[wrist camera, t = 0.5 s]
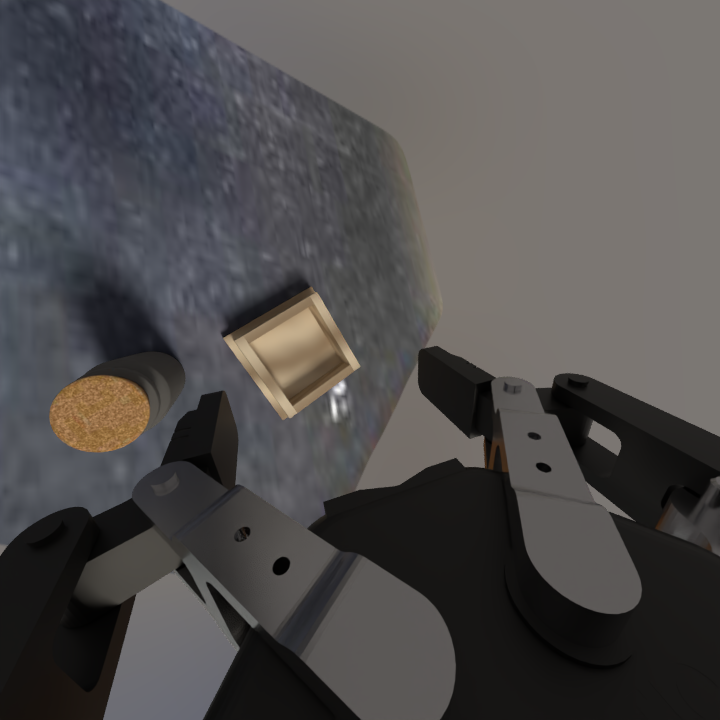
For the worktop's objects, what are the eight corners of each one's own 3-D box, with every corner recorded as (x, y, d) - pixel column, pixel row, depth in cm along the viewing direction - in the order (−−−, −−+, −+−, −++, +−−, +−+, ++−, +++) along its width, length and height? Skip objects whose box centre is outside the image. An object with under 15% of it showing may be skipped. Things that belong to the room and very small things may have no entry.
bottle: (192, 396, 33) (172, 441, 19) (130, 413, 30) (56, 477, 17) (176, 345, 32) (143, 354, 18) (110, 358, 29) (15, 381, 16)
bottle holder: (223, 338, 33) (223, 338, 30) (309, 287, 37) (318, 282, 34) (281, 418, 37) (287, 427, 33) (354, 364, 41) (367, 368, 37)
